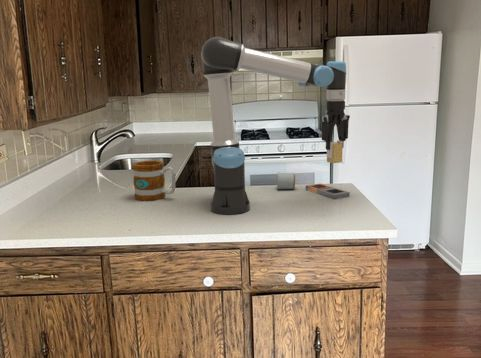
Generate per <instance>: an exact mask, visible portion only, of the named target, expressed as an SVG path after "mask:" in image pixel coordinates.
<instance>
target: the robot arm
mask: <svg viewBox="0 0 481 358" xmlns="http://www.w3.org/2000/svg"><path fill="white" fill-rule="evenodd" d="M200 60H201V66H202V74H203V77H204V78H206V79H207V83H208V84H207V85H208V86H207V87H208V95H209V105H210V115H211V125H212V134H213V141H212V142H211V143H210V150H211V151H210V152H211V159H210V161H211V165H212V167H213V175H214V177H213V178H214V193H213V196H212V199H211V201H210V211H212V212H213V213H215V214H220V215H239V214H243V213H246V212H249V211H250V210H251V209H250V208H251V203H250V199H249V196H248V194H247V191H246V176H245V174H246V173H245V166H246V165H245V161H246V157H245V153H244V150H243V149H241V148H240V141H239V140H238V139H236V136H235V135H236V134H235V125H234V114H233V103H232V92H231V80H230V78H231V76H233V73H234V72H233V71H237V72H238V71H239V70H240V69H242V70H245V71H250V72H253V73H254V72H255V73H258V74H263V75H267V76H271V77H277V78H279V79H284V80H290V81H294V82H297V84H298V86H300V87H320V88H325V87H326V96H325V97H326V98H325V99H326V100H327V101H326V103H325V104H326V106H325V108H326V115H324V116H320V121H321V141H323V142H325V150H326V158H327V157H329V158H332V147H333V142H334V141H332V139H333V134H334V129H335V126H336V132H337V138H338V140H336V142H338V143H343V148H344V147H345V145H344V143H345V141H347V140H348V139H349V124H350V123H349V121H350V119H351V116H350V115H348V114H346V113H345V111H346V101H345V100H346V81H347V79H346V78H347V65H346V62H345V61H342V60H339V61H338V60H337V61H335V60H334V61H327V62H326V63H327V64H326V65H323V64H322V65H319V64H316V63H310V62H307V61H302V60H298V59H295V58H291V57H286V56H281V55H276V54H273V53H269V52H265V51H260V50H257V49H252V48H248V47H245V45H244V44H243V43H239V42H235V41H232V40H230V39H227V38H224V37H222V36H214V37H210V38H209V39H207V40H206V41H205V42H204V44H203V45H202V47H201V50H200Z"/></svg>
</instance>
